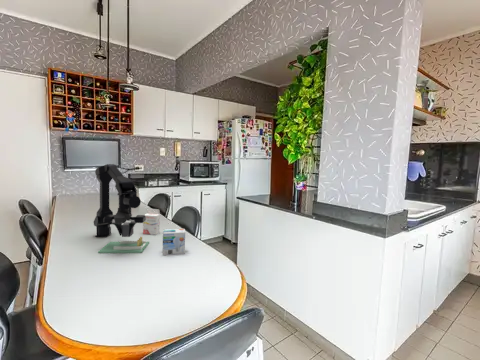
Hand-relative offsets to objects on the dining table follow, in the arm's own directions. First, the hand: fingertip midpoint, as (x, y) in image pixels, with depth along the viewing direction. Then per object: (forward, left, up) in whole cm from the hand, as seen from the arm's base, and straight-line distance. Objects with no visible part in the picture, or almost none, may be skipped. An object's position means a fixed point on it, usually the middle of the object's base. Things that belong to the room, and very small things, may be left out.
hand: (125, 235), depth 125 cm
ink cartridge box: (+7, +24, -7) cm, 26 cm away
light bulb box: (+25, -6, -7) cm, 27 cm away
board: (0, 0, -6) cm, 6 cm away
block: (0, +1, +2) cm, 2 cm away
